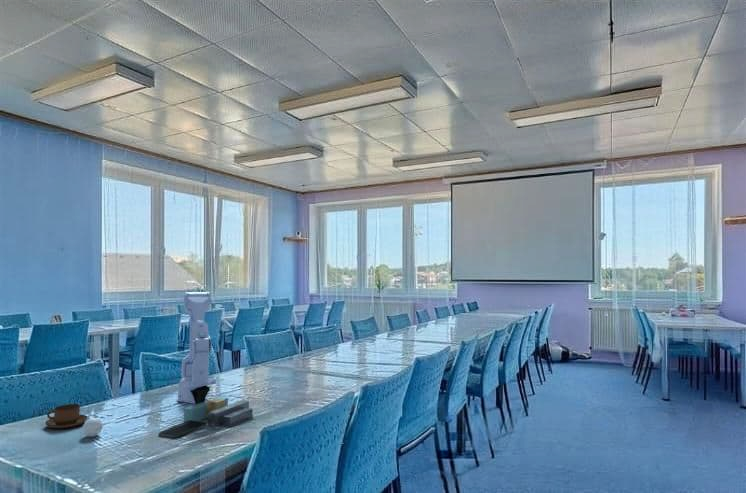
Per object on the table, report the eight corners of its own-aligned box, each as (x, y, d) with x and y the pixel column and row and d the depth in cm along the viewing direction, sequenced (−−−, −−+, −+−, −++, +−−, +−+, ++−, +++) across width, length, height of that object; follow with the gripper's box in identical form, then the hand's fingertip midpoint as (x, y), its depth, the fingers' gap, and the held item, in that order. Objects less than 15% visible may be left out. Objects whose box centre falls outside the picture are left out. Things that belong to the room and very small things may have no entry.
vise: (207, 425, 164) (208, 412, 164) (242, 412, 181) (242, 400, 181) (224, 428, 161) (224, 415, 162) (257, 414, 178) (257, 402, 178)
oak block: (206, 417, 173) (206, 400, 173) (215, 414, 177) (215, 398, 178) (216, 419, 171) (216, 402, 172) (224, 416, 175) (225, 399, 176)
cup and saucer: (42, 433, 155) (43, 414, 155) (47, 422, 166) (48, 404, 166) (85, 428, 160) (86, 409, 161) (88, 418, 171) (88, 400, 171)
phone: (156, 433, 154) (189, 420, 168) (156, 437, 154) (189, 423, 168) (176, 436, 151) (208, 422, 165) (176, 440, 151) (208, 426, 165)
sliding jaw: (183, 421, 169) (184, 408, 169) (219, 408, 185) (219, 396, 185) (192, 423, 167) (192, 409, 167) (227, 409, 183) (228, 397, 184)
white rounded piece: (87, 440, 149) (88, 422, 149) (78, 437, 152) (79, 419, 152) (112, 433, 155) (113, 416, 155) (102, 430, 158) (103, 413, 158)
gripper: (194, 375, 170) (192, 414, 169) (222, 367, 183) (221, 403, 183) (179, 373, 173) (178, 411, 172) (208, 366, 186) (207, 401, 185)
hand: (199, 407), depth 178 cm, fingers closed, pressing on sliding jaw
